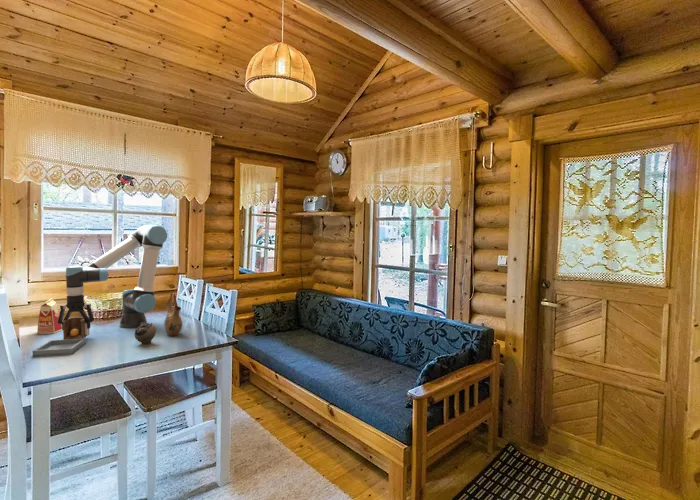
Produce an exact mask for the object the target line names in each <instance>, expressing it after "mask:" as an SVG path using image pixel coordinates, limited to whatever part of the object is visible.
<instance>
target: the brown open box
mask: <svg viewBox="0 0 700 500" xmlns="http://www.w3.org/2000/svg"><path fill="white" fill-rule="evenodd" d="M88 318H89V316H88ZM85 323H86V321H85V319H84V318H83V316H76V317H75V316H73V317H69V318H68V319H67V320H65V321H63V330H62V333H63V334H62V335H63V340H64V339H83V338H86V337H88V336H89V335H90V333H89V334H88V335H85ZM72 329H78V330H79V334H78V335H77V336H71V334H70V331H71V330H72Z"/></svg>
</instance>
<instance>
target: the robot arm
mask: <svg viewBox="0 0 700 500" xmlns="http://www.w3.org/2000/svg"><path fill="white" fill-rule="evenodd" d="M167 239H168V232H167V230H166V229H165V228H164V227H163V226H161V225H159V224H146V225H143V226H140V227H139V228H137V229H136V230H134V231H133V232H132V233H131V234H129V235H128V237H127V239H124V241H122V242H120V243H119V244H117V245H116V246H115V247H113V248H111V249H110V250H109V251H108V252H105V253H104V254H103V255H101V256H100V257H98V258H97V259H96V260H94V261H92V262H90V264H88V265H85V266H81V265H73V266H67V267H66V269H65V282H66V284H65V285H66V286H65V287H66V295H67V296H66V304H62V305H60V306H59V307H60V309H59V310H60V311H59V319H58V324H62V331H63V321H65V320H67V319H68V318H71V314H73V313H75V312H77V313H79V314H80V315H81V317H83V318H84V319H85V321H86V323H85V335H88V334H89V335H90V329H91V323H92V322H94V321H95V317H94V315H93V310H92V304H91V303H85V297H84V296H85V295H84V284H86V283H96V282H97V283H98V282H99V283H100V282H106V281H108V279H109V270H108V269H109V268H110V267H111V266H113V265H114V264H116V263H117V262H118V261H120V260H121V259H123V258H124V257H126V256H127V255H129V254H130V253H132V252H133V251H134V250H136V249H137V248H141V247H142V248H143V250H142V256H141V263H140V268H139V272H138V273H139V274H138V279H137V286H136V287H134V288H132V289H125V290H123V291H122V295H121V297H122V314H121V315H122V316H121V318H120V320H119V327H120V328H123V329H124V328H127V329H129V328H138V327H139V326H140V325H141V323H142V322H144V323H148V320H147V317H146V315H145V314H146V313H149V312H151V311H152V310H153V309H154V308H155V306H156V304H157V300H156V297H155V289H154V281H155V275H156V270H157V264H158V258H159V253H160V250H161V249H163V245H164V243H165V242H166V240H167ZM84 307H85V309H86V311H85V310H84ZM66 309H68V310H67V312H66ZM65 312H66V315H65ZM86 312H87V313H86ZM64 315H65V317H64ZM88 317H89V318H88ZM89 335H88V336H89Z"/></svg>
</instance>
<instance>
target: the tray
mask: <svg viewBox="0 0 700 500" xmlns="http://www.w3.org/2000/svg"><path fill="white" fill-rule="evenodd" d="M85 345H87V338H86V337H85V338H83V339H64V338H63V339H51V340H48V341H47V342H45V343H44V344H42V345H40V346H38V347H36V348H34V349H33V350H32V353H31V354H32V358H40V357H39V356H41V357H54V356H69V355H71V356H72V355H74V354H75V353H76V352H77V351H79V350H80V349H81V348H83V347H85Z"/></svg>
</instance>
